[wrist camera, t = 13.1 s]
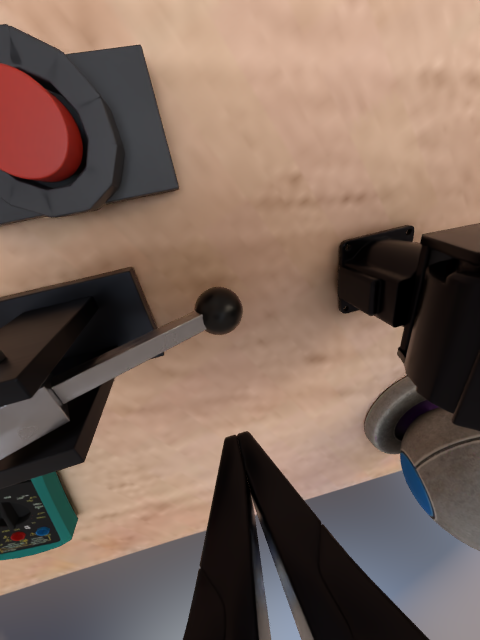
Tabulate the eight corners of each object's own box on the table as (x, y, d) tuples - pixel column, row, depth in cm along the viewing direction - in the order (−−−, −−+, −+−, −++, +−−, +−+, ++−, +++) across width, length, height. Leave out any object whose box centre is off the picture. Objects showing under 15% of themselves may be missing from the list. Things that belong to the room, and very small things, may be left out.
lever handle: (219, 276, 17) (248, 284, 15) (228, 315, 19) (255, 327, 17) (-36, 382, 11) (-58, 426, 8) (9, 429, 12) (1, 477, 10)
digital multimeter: (3, 533, 25) (-17, 571, 23) (-65, 434, 19) (-103, 471, 16) (82, 517, 27) (71, 550, 24) (43, 421, 21) (24, 453, 18)
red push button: (58, 76, 10) (36, 53, 9) (97, 174, 12) (85, 170, 10) (-35, 89, 10) (-75, 68, 8) (19, 189, 11) (-6, 187, 10)
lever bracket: (132, 266, 17) (84, 333, 8) (165, 347, 20) (155, 455, 12) (-23, 302, 16) (-262, 423, 7) (38, 382, 19) (-76, 530, 10)
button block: (143, 55, 13) (132, 8, 10) (180, 193, 16) (180, 191, 13) (-92, 87, 11) (-192, 45, 8) (-2, 231, 14) (-51, 239, 11)
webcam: (448, 418, 35) (607, 546, 22) (369, 457, 35) (483, 610, 22) (452, 353, 29) (678, 479, 16) (356, 400, 29) (506, 567, 16)
